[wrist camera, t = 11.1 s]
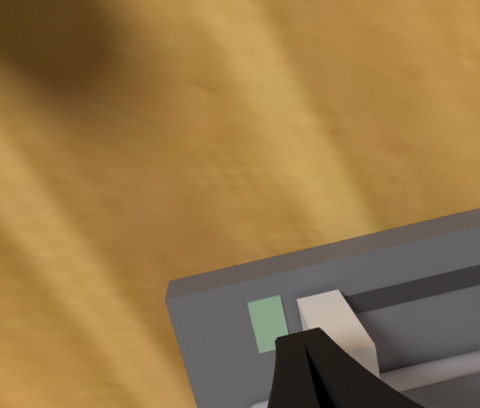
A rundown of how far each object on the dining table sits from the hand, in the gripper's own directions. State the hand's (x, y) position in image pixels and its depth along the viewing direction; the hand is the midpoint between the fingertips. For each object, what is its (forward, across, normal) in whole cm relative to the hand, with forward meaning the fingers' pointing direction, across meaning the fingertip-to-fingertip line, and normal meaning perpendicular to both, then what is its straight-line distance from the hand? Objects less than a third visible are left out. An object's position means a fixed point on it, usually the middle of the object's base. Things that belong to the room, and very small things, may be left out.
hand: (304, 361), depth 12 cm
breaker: (+7, -2, +3) cm, 8 cm away
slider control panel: (+9, -5, +8) cm, 13 cm away
